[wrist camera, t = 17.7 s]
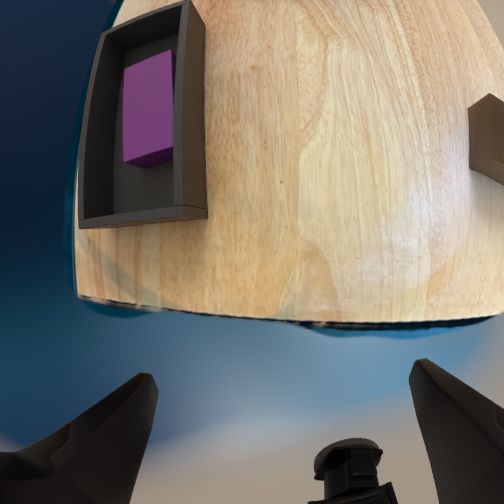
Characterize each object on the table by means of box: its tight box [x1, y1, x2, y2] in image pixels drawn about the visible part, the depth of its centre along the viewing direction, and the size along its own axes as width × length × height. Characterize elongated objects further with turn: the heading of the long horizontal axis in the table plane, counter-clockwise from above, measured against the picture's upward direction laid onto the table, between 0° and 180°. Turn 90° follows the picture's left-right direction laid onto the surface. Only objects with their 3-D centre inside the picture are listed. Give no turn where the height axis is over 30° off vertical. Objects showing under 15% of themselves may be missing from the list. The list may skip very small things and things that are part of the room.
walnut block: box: [468, 93, 504, 185], centre depth 14 cm, size 6×6×4 cm
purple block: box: [123, 50, 177, 169], centre depth 19 cm, size 4×3×9 cm
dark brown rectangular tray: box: [78, 0, 208, 229], centre depth 19 cm, size 19×9×4 cm, turn 3°
